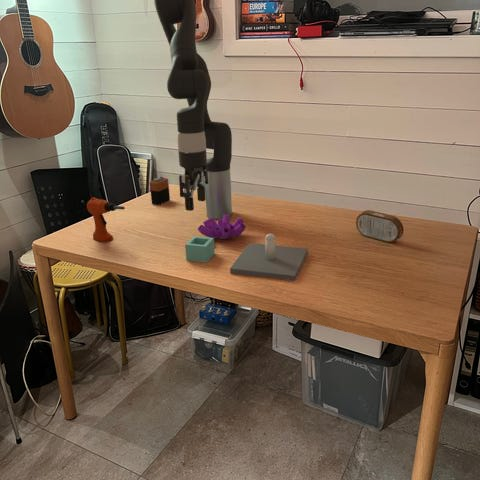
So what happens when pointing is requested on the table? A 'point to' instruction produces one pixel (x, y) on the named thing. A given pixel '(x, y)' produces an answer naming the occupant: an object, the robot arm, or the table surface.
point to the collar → (199, 249)
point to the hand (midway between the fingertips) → (195, 205)
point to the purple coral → (222, 228)
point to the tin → (379, 226)
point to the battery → (159, 190)
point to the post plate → (270, 260)
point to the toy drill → (101, 217)
